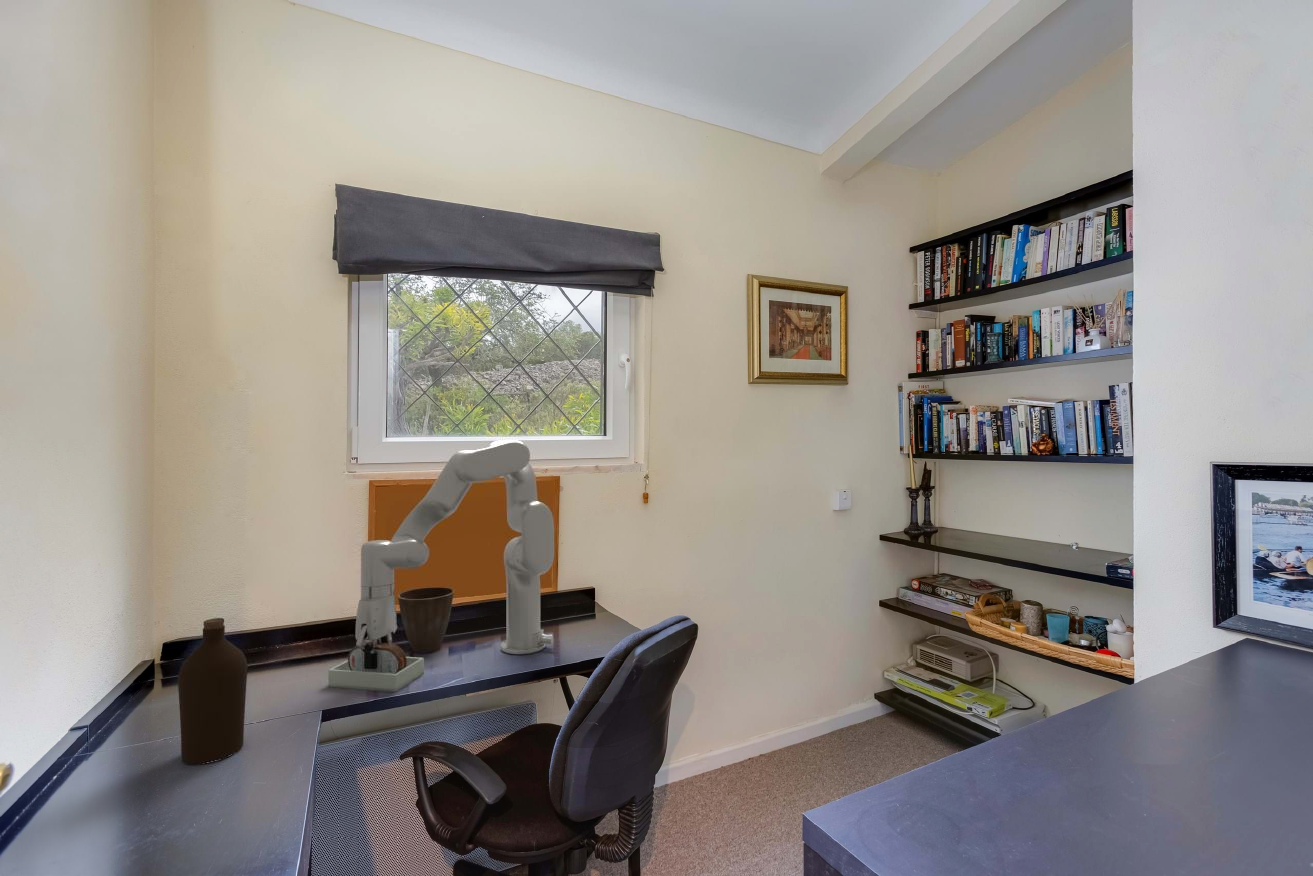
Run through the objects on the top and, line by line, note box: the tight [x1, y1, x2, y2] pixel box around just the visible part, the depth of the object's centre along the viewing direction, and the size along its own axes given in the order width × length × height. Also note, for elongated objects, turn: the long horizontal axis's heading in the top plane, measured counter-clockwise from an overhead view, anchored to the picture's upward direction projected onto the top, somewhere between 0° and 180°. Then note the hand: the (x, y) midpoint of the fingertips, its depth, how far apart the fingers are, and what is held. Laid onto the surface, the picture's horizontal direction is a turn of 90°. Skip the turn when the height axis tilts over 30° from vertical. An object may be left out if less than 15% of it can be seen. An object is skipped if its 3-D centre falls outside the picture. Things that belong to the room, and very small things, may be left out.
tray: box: [327, 656, 425, 693], centre depth 148 cm, size 18×12×4 cm, turn 79°
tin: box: [347, 642, 407, 674], centre depth 148 cm, size 15×3×8 cm, turn 78°
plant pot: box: [397, 586, 455, 654], centre depth 171 cm, size 15×15×16 cm
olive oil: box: [177, 617, 249, 766], centre depth 114 cm, size 11×11×25 cm
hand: (377, 664), depth 148 cm, fingers open, 4 cm apart
